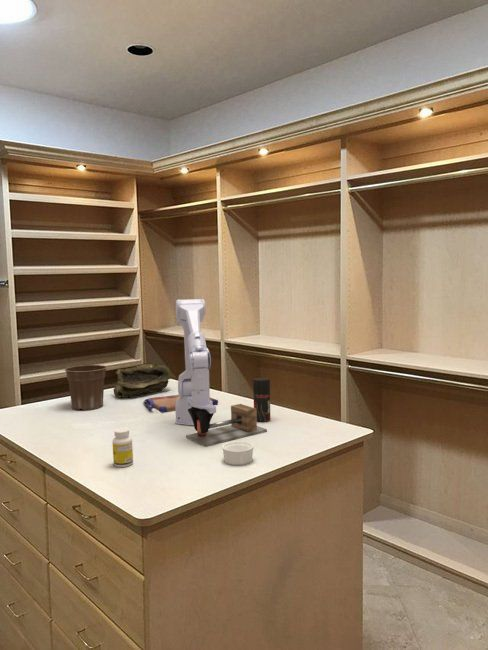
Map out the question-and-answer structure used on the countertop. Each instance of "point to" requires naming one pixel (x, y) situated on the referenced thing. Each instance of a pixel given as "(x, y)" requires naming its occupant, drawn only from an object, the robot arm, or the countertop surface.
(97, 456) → the countertop surface
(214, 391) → the countertop surface
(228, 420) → the copper head mallet
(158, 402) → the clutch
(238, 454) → the ramekin
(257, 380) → the deodorant
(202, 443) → the eye block
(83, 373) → the plant pot
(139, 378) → the hollow geode rock
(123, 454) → the supplement bottle
